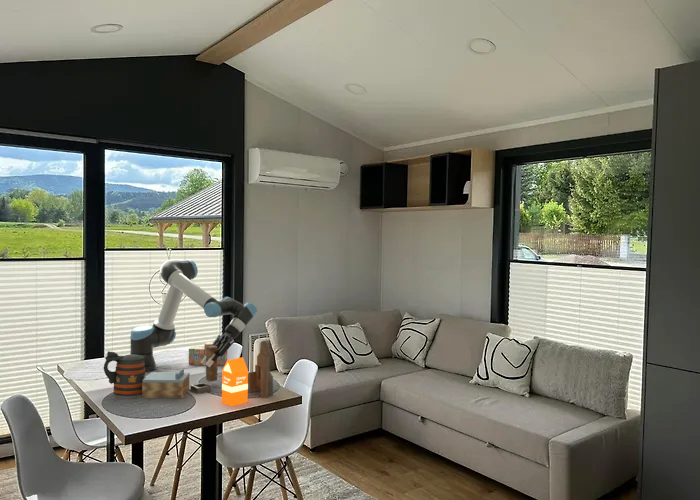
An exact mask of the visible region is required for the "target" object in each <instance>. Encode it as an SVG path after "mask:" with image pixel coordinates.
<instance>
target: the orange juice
mask: <svg viewBox="0 0 700 500" xmlns="http://www.w3.org/2000/svg"><path fill="white" fill-rule="evenodd" d="M248 374H249V370H248V368H247V364H246V361H245V359H244V357H243V356H242V357H237V358H233V359H227V362H226V364H225V365H223V368H222V375H221V376H222V377H221V378H222V379H221V403H222V404H224V405H227V406H230V407H234V406H238V405H243V404H246V403H248V398H249V397H248V395H249V394H248V393H249V392H248Z"/></svg>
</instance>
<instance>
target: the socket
mask: <svg viewBox="0 0 700 500" xmlns="http://www.w3.org/2000/svg"><path fill="white" fill-rule="evenodd" d="M189 390H190V391H191V392H192V393H193V392H194V393H196V394H202V393H203V394H204V393H208V392H212V385H210V384H208V383H206V382H200V383H196V384H189Z"/></svg>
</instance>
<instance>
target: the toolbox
mask: <svg viewBox="0 0 700 500" xmlns="http://www.w3.org/2000/svg"><path fill="white" fill-rule="evenodd" d="M189 390H190V375H189V376H188V377H187V378H186V379H185V380H184V382H183V383H150V382H143V383H142V393H141V395H142V396H141V397H142V398H143V399H146V398H147V399H152V398H153V399H159V398H160V399H183V398H184V396H185V395H186V393H188V391H189ZM166 397H167V398H166Z"/></svg>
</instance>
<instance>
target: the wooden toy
mask: <svg viewBox="0 0 700 500" xmlns="http://www.w3.org/2000/svg"><path fill="white" fill-rule="evenodd" d="M271 356H273V353H272V352H271V350H270V347H269V345H268V343H267V341H266V340H262V341H260V352H259V353H258V354H257V356H256V364H255V366H254V367H255V368H254V371H252V372H248V393H253V392H254V393H255V392H258V391H260V398H261V399H262V398H263V399H266V398H268V397H270V396H273V394H274V391H273V390H274V375H273V374H272V373H271V370H270V360H271V359H270V357H271Z"/></svg>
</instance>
